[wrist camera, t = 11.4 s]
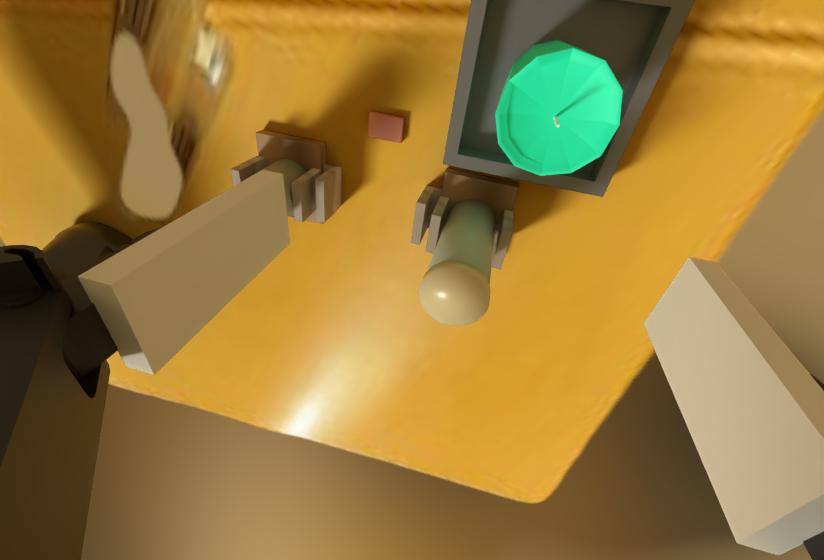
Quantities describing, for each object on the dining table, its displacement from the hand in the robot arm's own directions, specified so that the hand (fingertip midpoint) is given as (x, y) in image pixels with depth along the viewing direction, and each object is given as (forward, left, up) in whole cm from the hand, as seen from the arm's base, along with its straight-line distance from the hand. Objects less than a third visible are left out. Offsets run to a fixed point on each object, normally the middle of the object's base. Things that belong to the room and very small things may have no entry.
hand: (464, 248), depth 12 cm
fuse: (0, -9, -20) cm, 22 cm away
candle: (+3, +3, -21) cm, 21 cm away
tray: (+3, +3, -21) cm, 22 cm away
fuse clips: (-9, -7, -21) cm, 24 cm away
